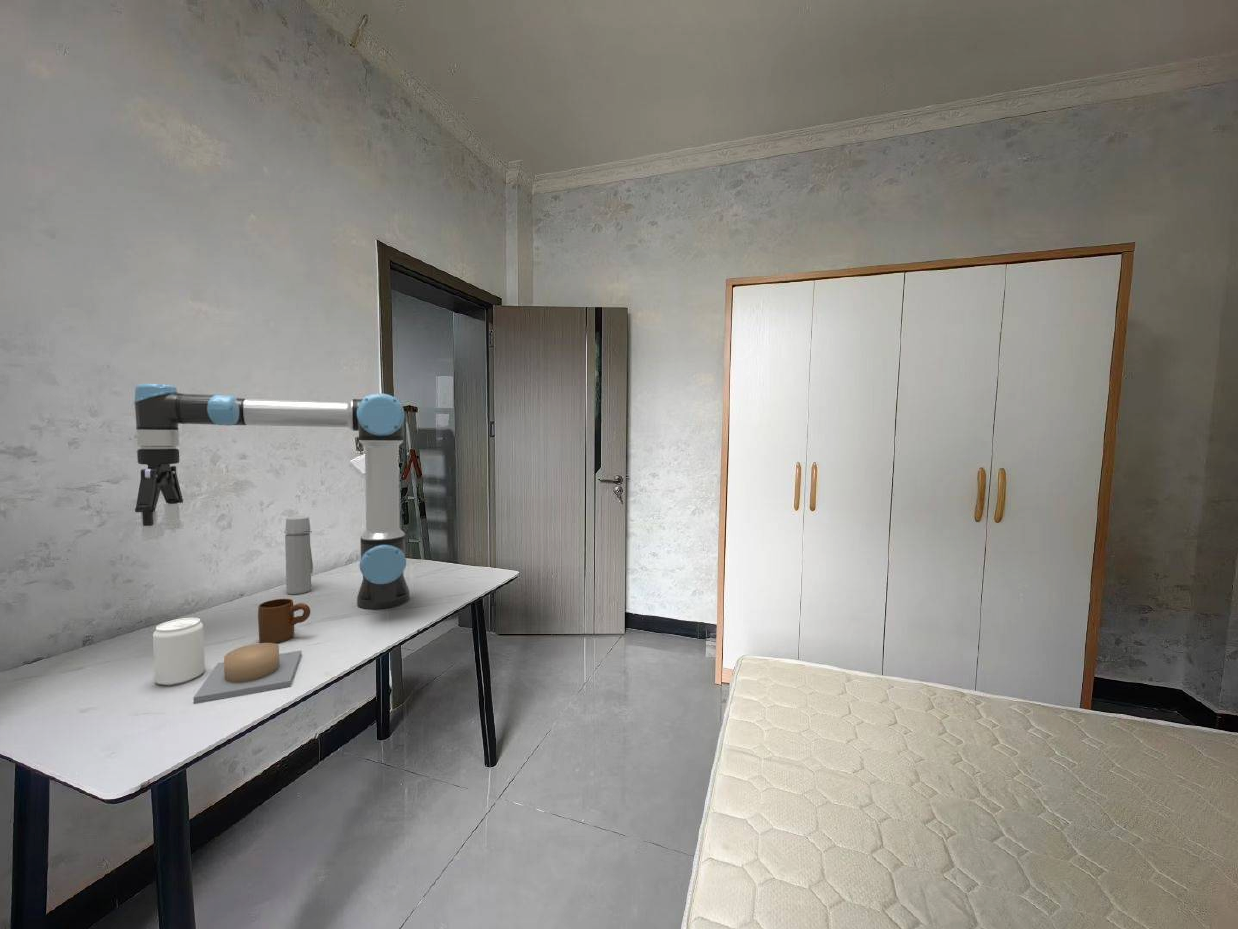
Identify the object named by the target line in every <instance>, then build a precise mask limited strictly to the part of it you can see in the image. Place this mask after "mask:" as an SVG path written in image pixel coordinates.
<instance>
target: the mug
mask: <svg viewBox="0 0 1238 929" xmlns="http://www.w3.org/2000/svg"><path fill="white" fill-rule="evenodd" d="M257 610H258V611H257V620H258V621H257V623H258V624H257V625H258V640H259V643H275V644H279V643H280V644H281V643H283V642H286V641H288V640H291V639H292V638H293V637H294V635H295V625H296V624H300V623H301V624H302V623H303V622H305V621H307V620H308V619H309V617H310V615H311V608H310V606H309V605H308V604H306V603H303V602H302V603H301V602H300V603H296V604H294V600H293V599H291V598H277V599H271V600H270V599H269V600H267V601H264V602H262V603H260V604H259V605H258V609H257ZM300 610H302V612H303V613H302V615H298V616H295V612H297V611H300Z"/></svg>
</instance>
